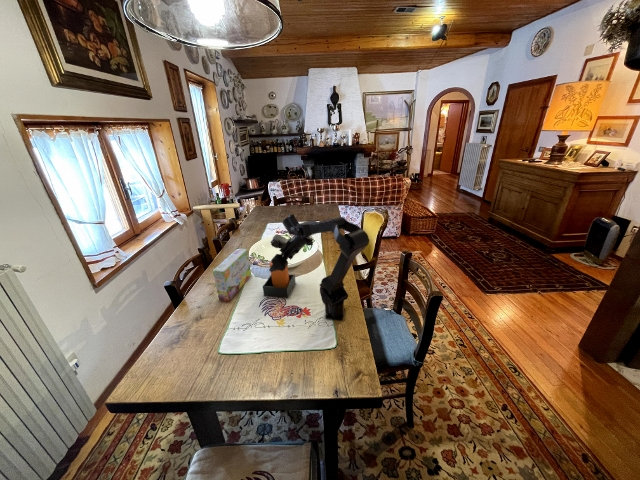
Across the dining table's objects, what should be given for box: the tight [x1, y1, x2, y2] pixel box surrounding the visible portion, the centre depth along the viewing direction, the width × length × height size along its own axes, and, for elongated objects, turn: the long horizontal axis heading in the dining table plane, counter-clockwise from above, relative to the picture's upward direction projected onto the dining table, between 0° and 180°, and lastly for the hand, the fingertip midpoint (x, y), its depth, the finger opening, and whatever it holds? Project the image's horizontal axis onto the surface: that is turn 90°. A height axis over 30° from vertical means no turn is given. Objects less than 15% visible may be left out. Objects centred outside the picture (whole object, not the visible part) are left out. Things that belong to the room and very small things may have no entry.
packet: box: [269, 262, 290, 288], centre depth 111 cm, size 7×3×13 cm, turn 73°
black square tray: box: [262, 273, 296, 299], centre depth 113 cm, size 11×11×5 cm
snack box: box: [212, 248, 252, 302], centre depth 114 cm, size 21×6×15 cm, turn 168°
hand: (274, 265), depth 109 cm, fingers open, 9 cm apart
